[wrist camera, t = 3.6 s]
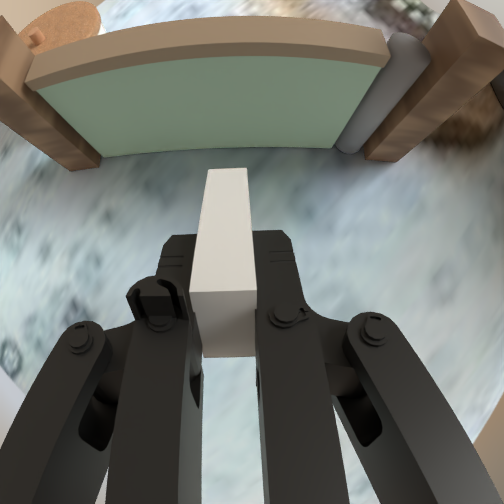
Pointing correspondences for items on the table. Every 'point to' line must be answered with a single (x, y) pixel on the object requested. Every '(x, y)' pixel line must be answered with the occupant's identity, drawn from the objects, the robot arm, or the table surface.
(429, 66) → the gate posts
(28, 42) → the lidded jar
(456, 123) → the table surface
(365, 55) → the gate
